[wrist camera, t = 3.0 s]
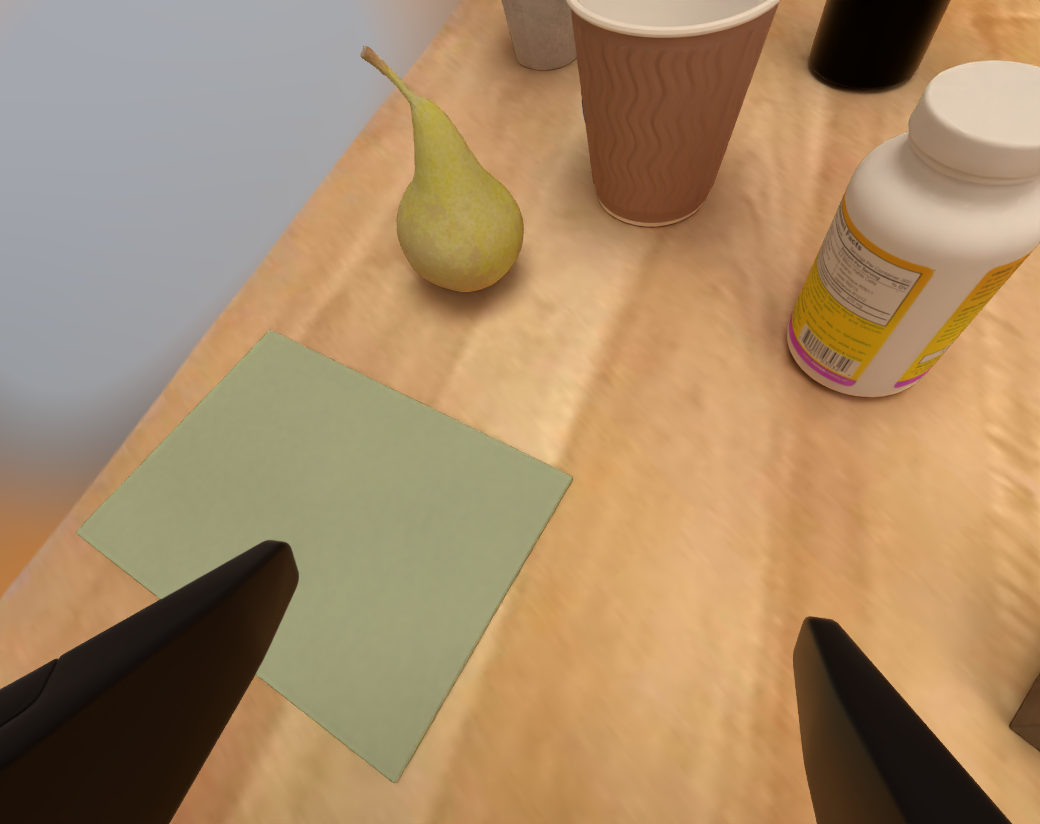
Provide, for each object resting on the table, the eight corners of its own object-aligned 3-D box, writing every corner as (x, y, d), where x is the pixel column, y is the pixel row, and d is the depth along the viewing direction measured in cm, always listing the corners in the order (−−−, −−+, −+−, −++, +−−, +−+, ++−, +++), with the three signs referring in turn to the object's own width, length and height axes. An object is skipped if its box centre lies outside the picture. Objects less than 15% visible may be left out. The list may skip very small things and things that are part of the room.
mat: (573, 478, 27) (572, 476, 27) (396, 783, 21) (394, 783, 21) (272, 332, 34) (269, 329, 33) (79, 534, 28) (75, 532, 28)
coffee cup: (661, 121, 40) (686, -97, 30) (772, 196, 35) (847, -34, 25) (539, 184, 38) (520, -26, 28) (638, 274, 33) (660, 58, 23)
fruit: (475, 336, 32) (421, 138, 22) (385, 280, 35) (300, 82, 25) (550, 263, 34) (532, 53, 24) (459, 216, 37) (409, 11, 27)
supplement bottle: (915, 303, 30) (1105, 42, 19) (934, 411, 27) (1176, 172, 16) (780, 292, 31) (883, 42, 20) (782, 394, 28) (906, 162, 17)
